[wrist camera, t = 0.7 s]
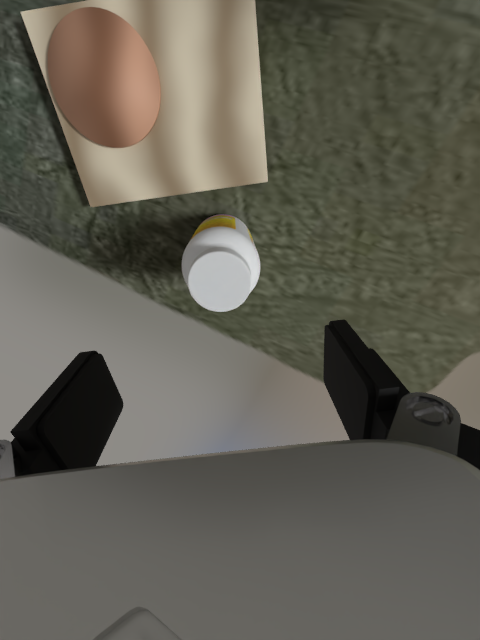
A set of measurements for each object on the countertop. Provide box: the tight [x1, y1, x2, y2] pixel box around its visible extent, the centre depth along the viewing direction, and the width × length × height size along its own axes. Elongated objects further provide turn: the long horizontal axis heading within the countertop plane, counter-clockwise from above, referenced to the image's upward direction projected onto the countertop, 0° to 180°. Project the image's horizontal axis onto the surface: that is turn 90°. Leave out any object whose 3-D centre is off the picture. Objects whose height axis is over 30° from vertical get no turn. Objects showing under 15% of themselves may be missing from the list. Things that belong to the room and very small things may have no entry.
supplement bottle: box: [182, 214, 260, 312], centre depth 25 cm, size 7×7×13 cm
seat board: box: [21, 0, 268, 207], centre depth 24 cm, size 18×14×2 cm
